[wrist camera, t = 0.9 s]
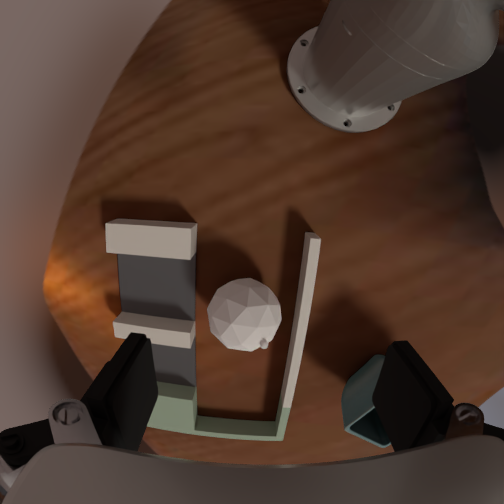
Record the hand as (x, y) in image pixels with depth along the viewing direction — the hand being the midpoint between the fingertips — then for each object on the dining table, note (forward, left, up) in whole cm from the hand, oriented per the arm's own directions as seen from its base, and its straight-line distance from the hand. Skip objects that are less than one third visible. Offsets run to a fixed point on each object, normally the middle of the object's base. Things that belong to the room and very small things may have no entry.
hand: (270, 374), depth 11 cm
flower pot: (+16, +16, -21) cm, 31 cm away
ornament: (+6, -1, -21) cm, 22 cm away
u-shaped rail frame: (+12, -5, -21) cm, 25 cm away
